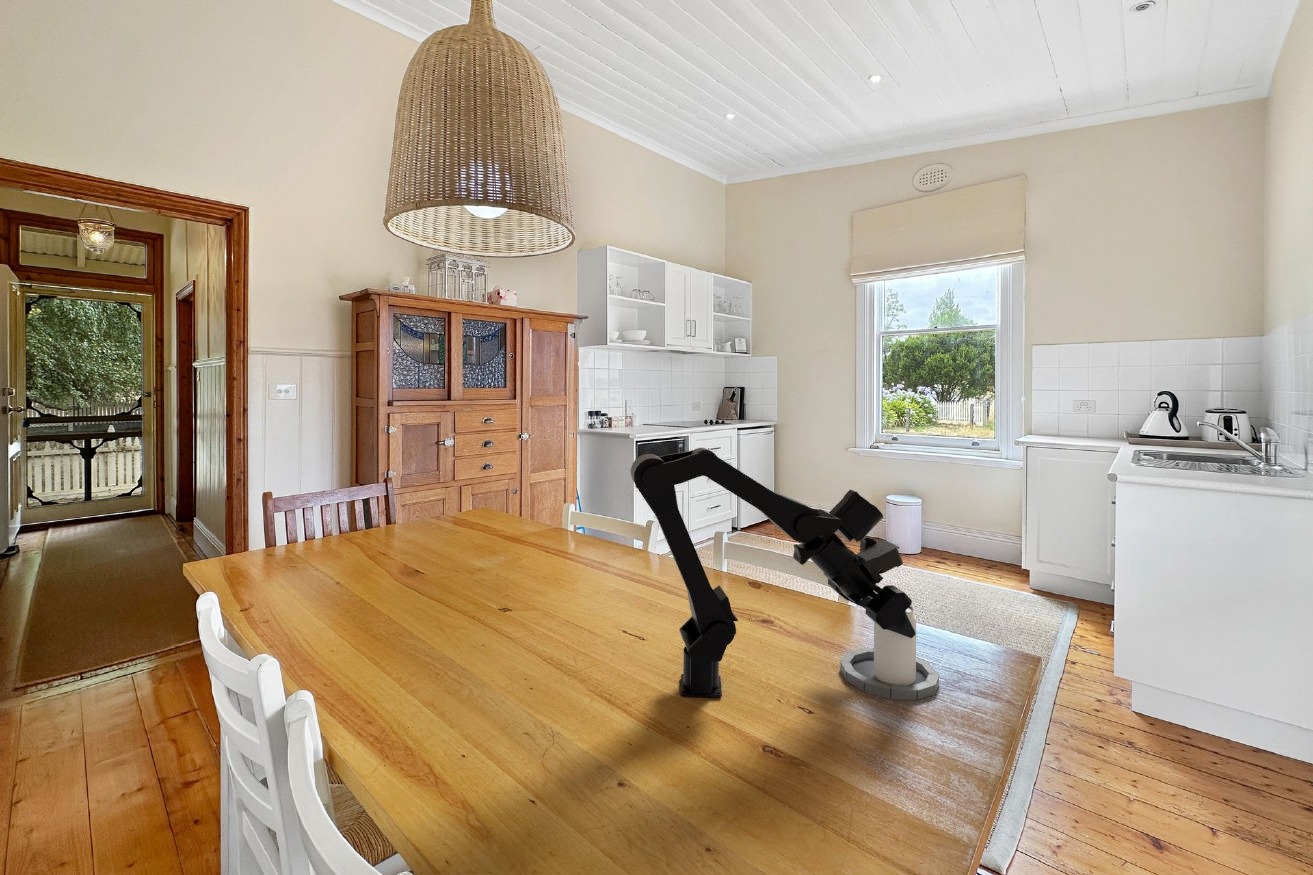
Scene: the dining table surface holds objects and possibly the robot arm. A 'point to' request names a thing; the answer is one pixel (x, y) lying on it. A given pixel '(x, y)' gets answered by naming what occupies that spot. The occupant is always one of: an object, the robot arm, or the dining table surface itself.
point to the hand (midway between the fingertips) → (898, 624)
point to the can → (895, 655)
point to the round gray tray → (861, 675)
